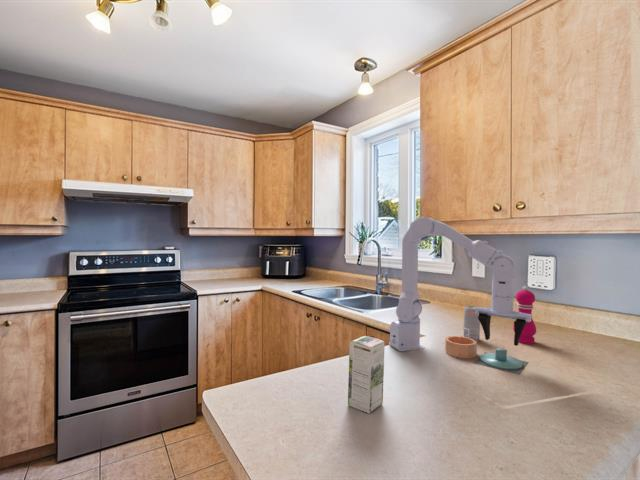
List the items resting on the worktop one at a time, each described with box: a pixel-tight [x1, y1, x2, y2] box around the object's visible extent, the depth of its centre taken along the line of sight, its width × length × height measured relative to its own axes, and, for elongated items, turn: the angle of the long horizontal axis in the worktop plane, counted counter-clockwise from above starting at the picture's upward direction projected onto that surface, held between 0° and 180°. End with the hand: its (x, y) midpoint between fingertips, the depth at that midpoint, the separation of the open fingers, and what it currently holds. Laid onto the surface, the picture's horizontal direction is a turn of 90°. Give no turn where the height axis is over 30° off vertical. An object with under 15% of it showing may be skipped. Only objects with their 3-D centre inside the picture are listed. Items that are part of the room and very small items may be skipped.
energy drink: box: [462, 305, 481, 342], centre depth 123 cm, size 5×5×12 cm
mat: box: [472, 351, 529, 375], centre depth 101 cm, size 12×12×1 cm
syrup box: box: [347, 335, 385, 414], centre depth 75 cm, size 6×6×14 cm
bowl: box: [444, 335, 478, 359], centre depth 108 cm, size 9×9×4 cm
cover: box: [479, 347, 523, 370], centre depth 101 cm, size 11×11×4 cm
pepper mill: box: [512, 285, 537, 345], centre depth 123 cm, size 7×7×20 cm
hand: (501, 341), depth 101 cm, fingers open, 7 cm apart
